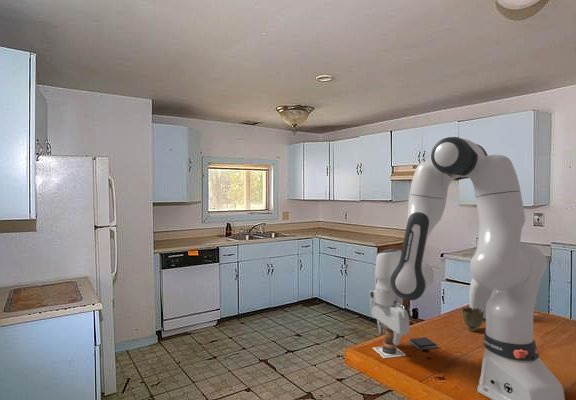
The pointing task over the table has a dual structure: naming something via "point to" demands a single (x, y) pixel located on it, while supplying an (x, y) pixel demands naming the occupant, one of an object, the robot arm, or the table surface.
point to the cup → (473, 318)
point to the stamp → (388, 341)
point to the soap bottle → (479, 296)
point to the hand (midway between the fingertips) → (388, 338)
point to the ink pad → (423, 343)
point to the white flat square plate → (384, 355)
